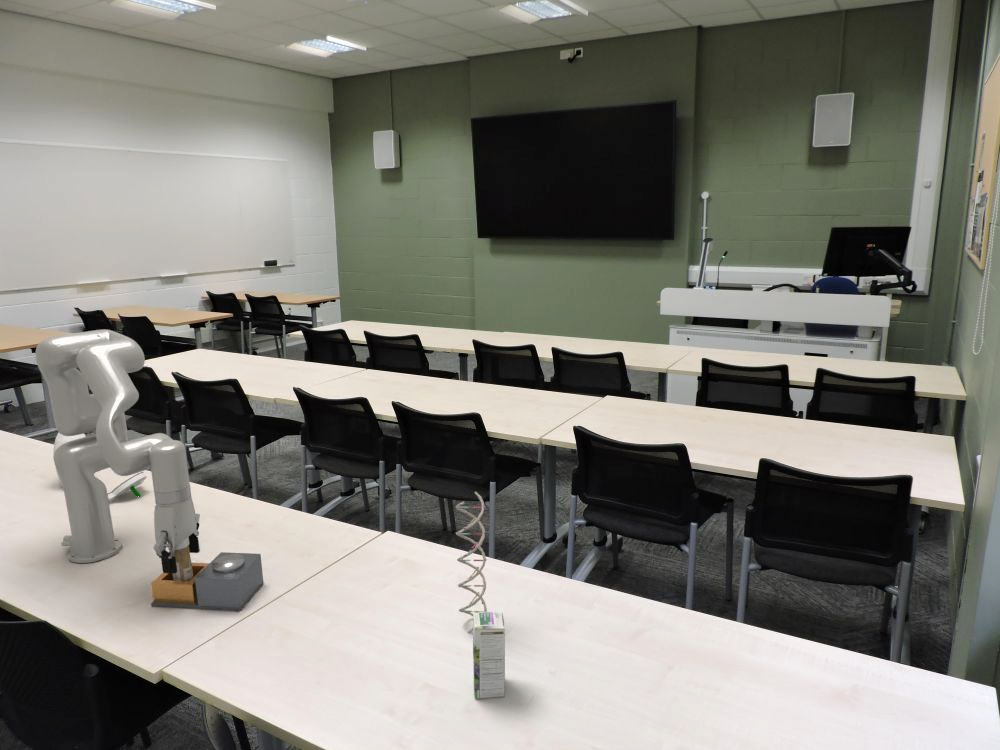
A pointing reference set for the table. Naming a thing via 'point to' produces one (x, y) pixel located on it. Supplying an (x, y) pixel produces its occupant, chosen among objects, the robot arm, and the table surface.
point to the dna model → (477, 546)
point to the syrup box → (488, 654)
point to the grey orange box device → (212, 584)
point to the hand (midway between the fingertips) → (181, 562)
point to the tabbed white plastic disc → (128, 486)
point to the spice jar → (182, 562)
